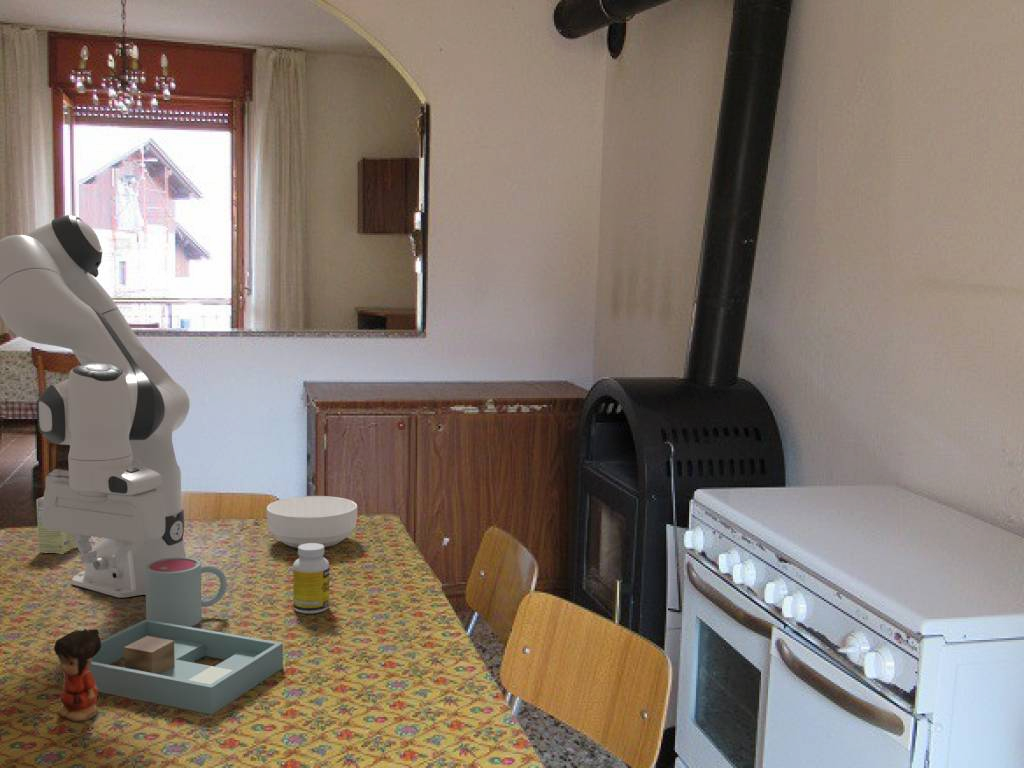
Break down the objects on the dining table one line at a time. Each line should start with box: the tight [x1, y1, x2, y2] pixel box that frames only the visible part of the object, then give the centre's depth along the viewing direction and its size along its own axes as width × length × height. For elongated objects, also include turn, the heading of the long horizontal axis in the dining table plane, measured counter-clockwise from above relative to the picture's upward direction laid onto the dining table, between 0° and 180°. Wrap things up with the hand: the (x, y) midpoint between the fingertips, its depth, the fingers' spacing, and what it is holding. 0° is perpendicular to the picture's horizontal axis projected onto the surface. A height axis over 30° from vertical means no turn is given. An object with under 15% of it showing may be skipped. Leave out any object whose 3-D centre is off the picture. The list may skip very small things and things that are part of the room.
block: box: [123, 636, 175, 675], centre depth 154 cm, size 5×5×4 cm
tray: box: [63, 619, 284, 716], centre depth 157 cm, size 26×18×4 cm
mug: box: [145, 556, 228, 627], centre depth 181 cm, size 14×9×10 cm
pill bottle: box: [292, 543, 330, 615], centre depth 187 cm, size 6×6×12 cm
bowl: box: [266, 495, 358, 549], centre depth 229 cm, size 20×20×8 cm
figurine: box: [53, 628, 101, 723], centre depth 143 cm, size 6×6×12 cm
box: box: [35, 496, 90, 554], centre depth 222 cm, size 10×6×12 cm, turn 172°
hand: (103, 564), depth 155 cm, fingers open, 4 cm apart
